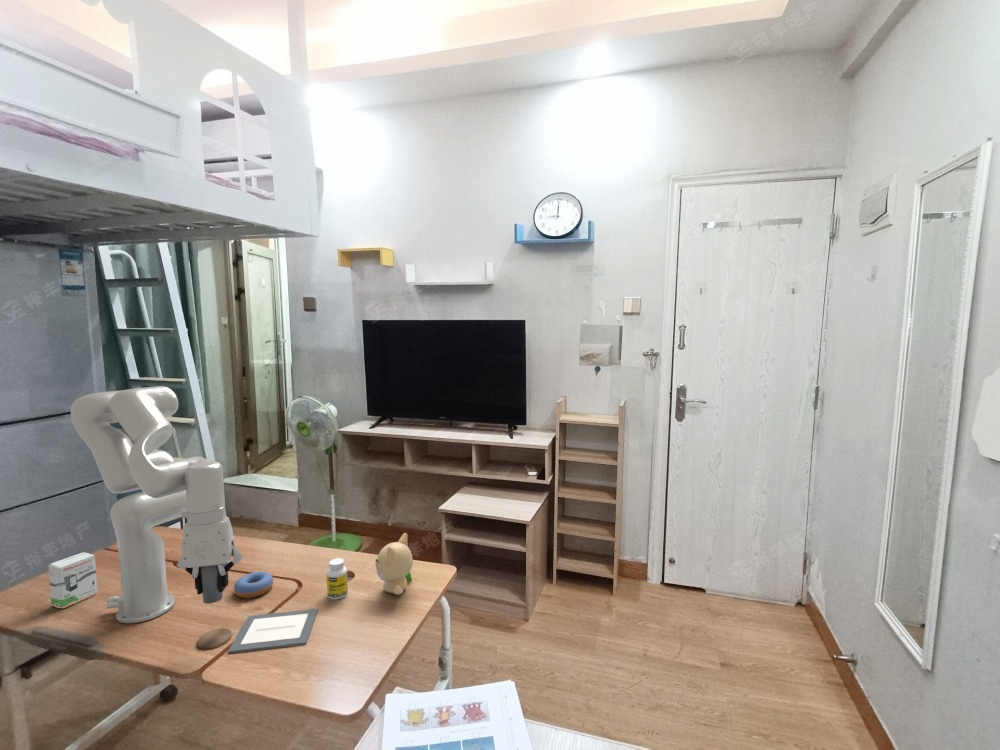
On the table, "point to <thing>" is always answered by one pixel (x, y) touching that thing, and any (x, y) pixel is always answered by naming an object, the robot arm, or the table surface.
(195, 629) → the table surface
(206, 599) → the marker
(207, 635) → the coaster
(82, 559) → the ink box
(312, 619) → the grey picture frame
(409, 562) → the kitten
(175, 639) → the table surface
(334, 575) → the supplement bottle
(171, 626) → the table surface
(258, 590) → the doughnut
